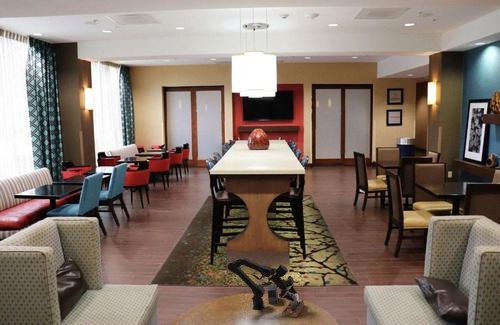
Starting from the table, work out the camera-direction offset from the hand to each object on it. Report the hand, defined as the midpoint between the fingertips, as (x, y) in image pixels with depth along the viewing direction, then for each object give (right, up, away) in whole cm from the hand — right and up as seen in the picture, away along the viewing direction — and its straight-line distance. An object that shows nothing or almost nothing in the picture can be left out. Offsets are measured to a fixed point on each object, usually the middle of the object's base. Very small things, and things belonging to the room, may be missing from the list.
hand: (295, 298), depth 298 cm
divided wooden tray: (-2, -8, -3) cm, 9 cm away
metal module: (0, -7, +1) cm, 7 cm away
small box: (-14, -8, +17) cm, 24 cm away
